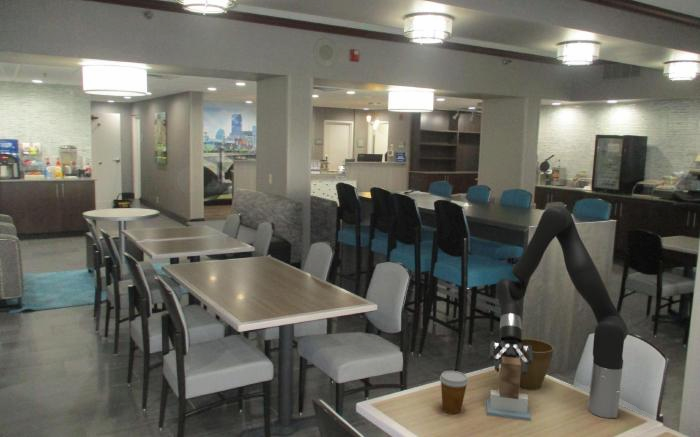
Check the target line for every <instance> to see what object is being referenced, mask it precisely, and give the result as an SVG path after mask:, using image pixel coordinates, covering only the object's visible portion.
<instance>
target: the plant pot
mask: <svg viewBox="0 0 700 437" xmlns="http://www.w3.org/2000/svg"><path fill="white" fill-rule="evenodd" d="M522 345H523V346H528V345H531V346H532V356H533V361H532V364H527V373H526V374H525V375H522V364H523V363H522V362H521V361H520V362H521V374H520V386H521V387H522V388H524V389H529V390H538V389H540V387H541V385H543V382H544V380H545V378H546V376H547V373H548V370H549V367H550V364H551V361H552V358H553V355H554V354H553V352H554V349H555V348H554V346H553V345H551V344H550V343H548V342H546V341H542V340H538V339H533V338H522ZM522 353H523V355H524V357H525V358H526V359H528V354H527V353H526V352H525V350H524V349H523V350H522ZM515 358H517V357H515Z"/></svg>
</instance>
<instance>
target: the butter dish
mask: <svg viewBox="0 0 700 437" xmlns="http://www.w3.org/2000/svg"><path fill="white" fill-rule="evenodd" d="M489 394H490V395H489V398H486V401H485V403H486V404H485V405H486V415H487V416H492V417H500V418H506V419H515V420H522V421H531V419H532V417H531V413H530V407H529V404H528V403H529V396H528V395H527V393H520V392H519V398H518V399H512V398H505V397H500V394H499V389H497V390H496V389H490V393H489Z"/></svg>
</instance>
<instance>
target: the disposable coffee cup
mask: <svg viewBox="0 0 700 437" xmlns="http://www.w3.org/2000/svg"><path fill="white" fill-rule="evenodd" d="M439 381H440V385H441V386H440V387H441V389H440V390H441V404H442V405H441V406H442V411H444V412H446V413H449V414H459V413H461V412H462V408H463V403H464V400H465V394H466V388H467V385H468V384H469V379H468V376H467V375H466V374H464V373H463V372H461V371H457V370H456V371H455V370H445V371H442V373H441V374H440V376H439Z"/></svg>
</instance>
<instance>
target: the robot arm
mask: <svg viewBox="0 0 700 437" xmlns="http://www.w3.org/2000/svg"><path fill="white" fill-rule="evenodd" d="M555 238H556V239H557V241H558V243H559V245H560V247H561V251H562V255H563V260H564V261H563V262H564V264H565V265H564V266H565V268H566V272H567V274H568V276H569V278H570V280H571V283H572V284H573V286H574V288H575V289H576V291H577V292H578V293H579V296H581V297H582V298H583V299H584V300H585V302H586V303H587V304H588V306H589V307H590V309H591V310H592V313H593V315H594V318H595V320H596V322H597V325H596V327H595V329H594V332H593V333H594V334H593V335H594V336H593V346H592V357H593V359H592V367H591V368H592V370H591V378H590V388H589V389H590V390H589V397H588V407H587V408H588V411H589V412H590V413H592V414H593V415H595V416H598V417H601V418H605V419H613V418H614V419H618V413H619V404H620V395H621V383H622V376H623V367H624V359H623V352H624V344H625V340H626V339H627V336H628V333H629V332H628V331H629V330H628V326H627V324H626V322H625V320H624V318H622V315H621V314H620V312H619V311H618V309H617V308H616V307H615V305H614V303H613V301H612V299H611V297H610V295H609V292H608V289H607V288H606V286H605V284H604V281H603V279H602V276H601V274H600V272H599V270H598V268H597V266H596V264H595V263H594V261H593V259H592V257H591V255H590V252H588V249H587V248H586V246H585V244H584V243H583V240H582V238H581V237H580V234H579V231H578V229H577V227H576V223H575V221H574V217H573V215H572V213H571V212H570V211H569V209H568V208H566V207H564V206H559V205H558V206H552V207H549V208H547V209H546V210H544V211H543V212H542V215H541V217H540V219H539V220H538V223H537V226H536V228H535V231H534V233H533V235H532V236H531V239H530V241H528V244H527V246H526V248H525V249H524V250H523V252H522V253H521V255H520V257H519V258H518V259H517V261H516V263H515V264H514V266H513V267H512V270H511V273H512V275H513V276H514V277H515V278H517V279H518V281H515V280H512V279H510V278H506V277H503V278H501V279H499V280H498V281H497V283H496V287H495V291H496V292H495V293H496V297H497V300H498V302H499V307H500V321H499V342H495V340H492V341H490V348H489V356H488V358H489V359H490V360H492V361H494V370H495V371H496V373H499V372H500V361H501V358H502V356H503V357H511V358H515V357H517V358H520V361H521V362H522V363H523V364H522V375H525V374H526V373H527V364H532V361H533V356H532V346H531V345H528V346H523V345H522V339H523V332H522V330H523V329H522V327H523V325H522V308H521V305H520V304H519V303H518V302H519V301H521V300H522V299H524V297H525V296H526V294H527V289H528V285H529V283H530V280H531V277H532V276H533V274H534V273H535V271H536V270H537V268H538V267H539V265H540V263H541V262H542V259H543V257H544V254H545V252H546V251H547V249H548V247H549V245H550V244H551V242H552V241H553V240H554V239H555ZM497 348H498V349H499V352H498V353H497V354H496V355H495V354H494V353H495V350H496V349H497ZM523 349H524V350H525V352H526V353H527V354H528V359H526V358H525V357H524V355H523V353H522V350H523Z"/></svg>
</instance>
